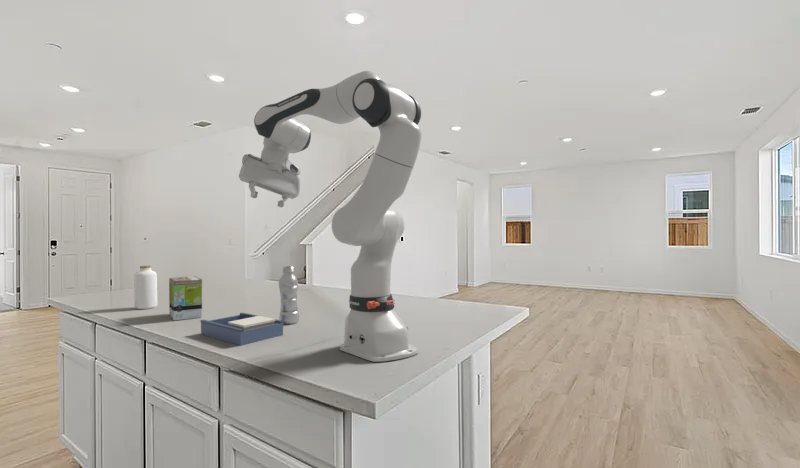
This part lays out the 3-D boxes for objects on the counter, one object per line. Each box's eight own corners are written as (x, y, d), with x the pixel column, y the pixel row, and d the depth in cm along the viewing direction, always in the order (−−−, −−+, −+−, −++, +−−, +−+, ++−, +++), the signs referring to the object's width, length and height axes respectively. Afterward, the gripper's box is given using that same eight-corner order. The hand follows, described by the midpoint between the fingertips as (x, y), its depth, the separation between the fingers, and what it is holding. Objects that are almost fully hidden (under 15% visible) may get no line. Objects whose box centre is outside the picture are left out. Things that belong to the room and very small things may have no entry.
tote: (283, 337, 126) (283, 320, 126) (240, 348, 115) (240, 330, 115) (242, 327, 139) (242, 312, 139) (200, 336, 128) (200, 320, 128)
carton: (275, 335, 125) (275, 319, 125) (244, 343, 117) (243, 325, 117) (259, 331, 130) (259, 315, 130) (228, 338, 122) (227, 321, 122)
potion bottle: (152, 305, 184) (151, 264, 184) (161, 307, 179) (160, 265, 179) (131, 308, 177) (130, 266, 177) (140, 310, 172) (139, 267, 172)
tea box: (203, 317, 157) (202, 278, 156) (173, 321, 151) (172, 280, 151) (197, 311, 169) (196, 275, 169) (168, 314, 163) (168, 277, 163)
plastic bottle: (294, 327, 139) (293, 267, 139) (275, 326, 140) (274, 267, 140) (302, 323, 145) (301, 266, 145) (284, 322, 146) (283, 265, 146)
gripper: (248, 148, 130) (240, 188, 125) (304, 171, 143) (299, 209, 139) (239, 155, 134) (231, 194, 129) (294, 177, 147) (289, 213, 143)
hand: (267, 202), depth 134 cm, fingers open, 8 cm apart
